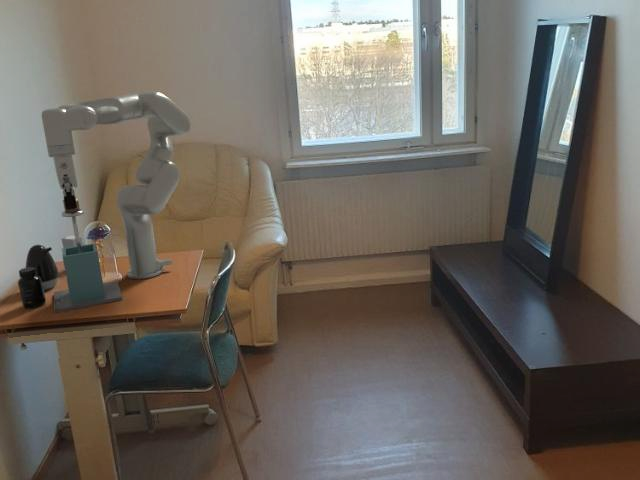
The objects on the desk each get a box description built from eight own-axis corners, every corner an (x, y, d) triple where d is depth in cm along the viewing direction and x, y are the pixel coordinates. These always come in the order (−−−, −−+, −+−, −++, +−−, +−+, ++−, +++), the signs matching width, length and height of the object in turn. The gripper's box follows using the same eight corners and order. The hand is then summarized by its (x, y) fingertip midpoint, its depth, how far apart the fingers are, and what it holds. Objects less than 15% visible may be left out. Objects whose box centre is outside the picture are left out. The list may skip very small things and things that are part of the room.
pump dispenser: (49, 293, 214) (41, 249, 210) (22, 293, 216) (13, 249, 212) (67, 282, 224) (59, 240, 219) (40, 282, 226) (32, 240, 221)
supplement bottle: (29, 301, 208) (21, 266, 204) (49, 300, 208) (42, 265, 204) (18, 309, 201) (11, 273, 198) (40, 308, 201) (33, 272, 198)
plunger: (93, 260, 210) (82, 195, 203) (95, 266, 203) (83, 199, 197) (69, 264, 207) (57, 198, 201) (70, 270, 201) (57, 203, 194)
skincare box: (88, 267, 238) (82, 236, 235) (78, 271, 235) (72, 239, 231) (76, 265, 241) (70, 234, 238) (66, 269, 238) (60, 238, 234)
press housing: (117, 283, 219) (110, 238, 215) (122, 299, 204) (114, 251, 199) (54, 294, 212) (45, 248, 208) (55, 312, 197) (45, 262, 193)
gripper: (75, 152, 188) (85, 209, 193) (73, 145, 204) (82, 199, 208) (47, 155, 185) (58, 213, 190) (48, 148, 201) (57, 202, 206)
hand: (70, 205), depth 199 cm, fingers open, 9 cm apart
